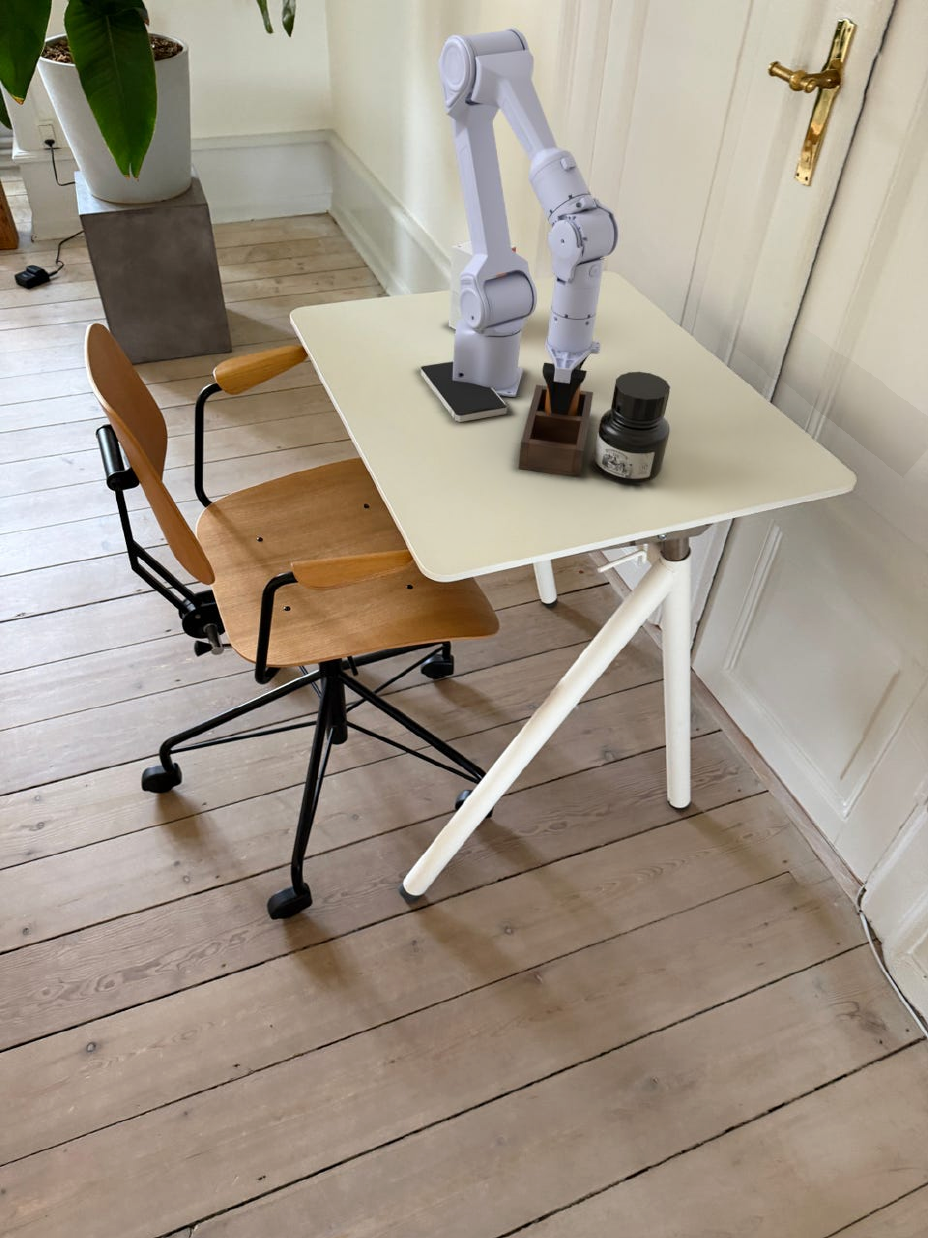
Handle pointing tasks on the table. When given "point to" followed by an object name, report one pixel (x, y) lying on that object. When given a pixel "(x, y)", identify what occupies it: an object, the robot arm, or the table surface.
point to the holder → (554, 436)
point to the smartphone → (462, 394)
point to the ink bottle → (634, 429)
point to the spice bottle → (573, 406)
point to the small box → (458, 263)
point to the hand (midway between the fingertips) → (561, 404)
